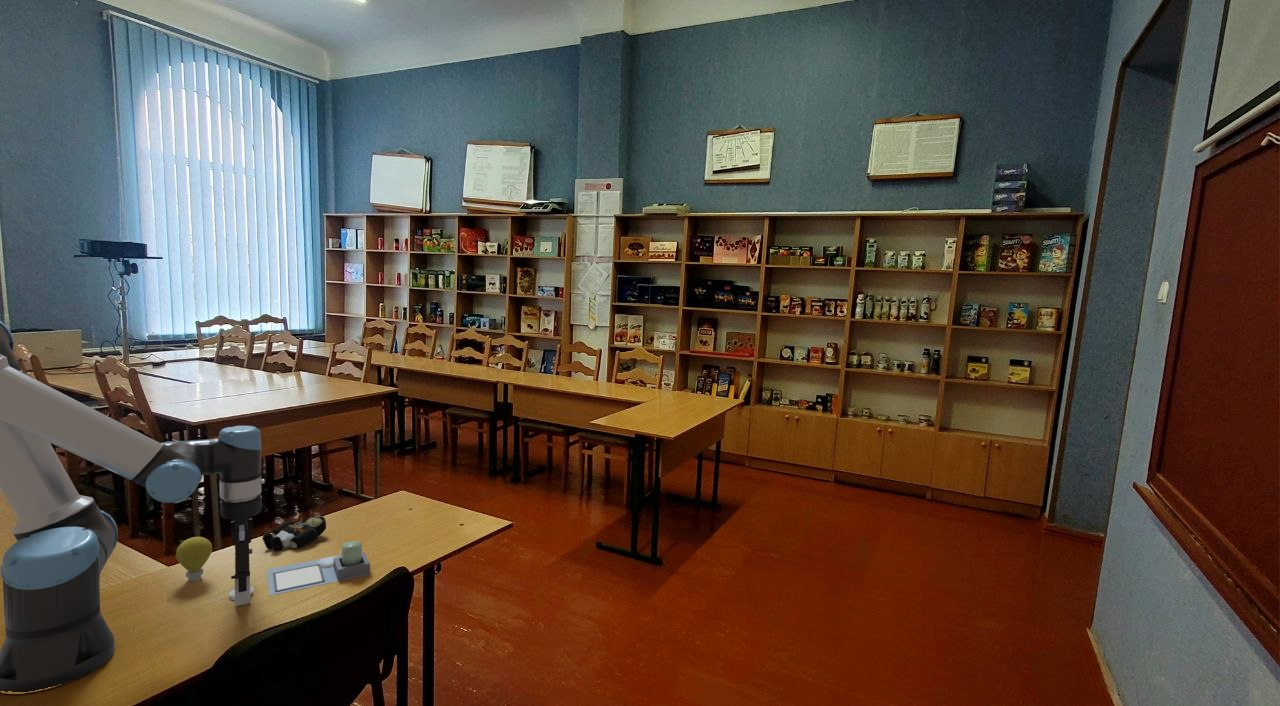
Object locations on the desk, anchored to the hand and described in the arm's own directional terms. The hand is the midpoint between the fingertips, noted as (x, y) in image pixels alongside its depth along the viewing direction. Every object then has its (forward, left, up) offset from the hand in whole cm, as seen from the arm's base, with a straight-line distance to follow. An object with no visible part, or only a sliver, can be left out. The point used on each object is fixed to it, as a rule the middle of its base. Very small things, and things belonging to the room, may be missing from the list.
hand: (242, 593), depth 127 cm
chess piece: (0, 0, 0) cm, 0 cm away
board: (+15, +2, 0) cm, 15 cm away
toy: (+12, +24, -1) cm, 27 cm away
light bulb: (-9, +13, 0) cm, 16 cm away
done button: (+22, -1, +3) cm, 22 cm away
